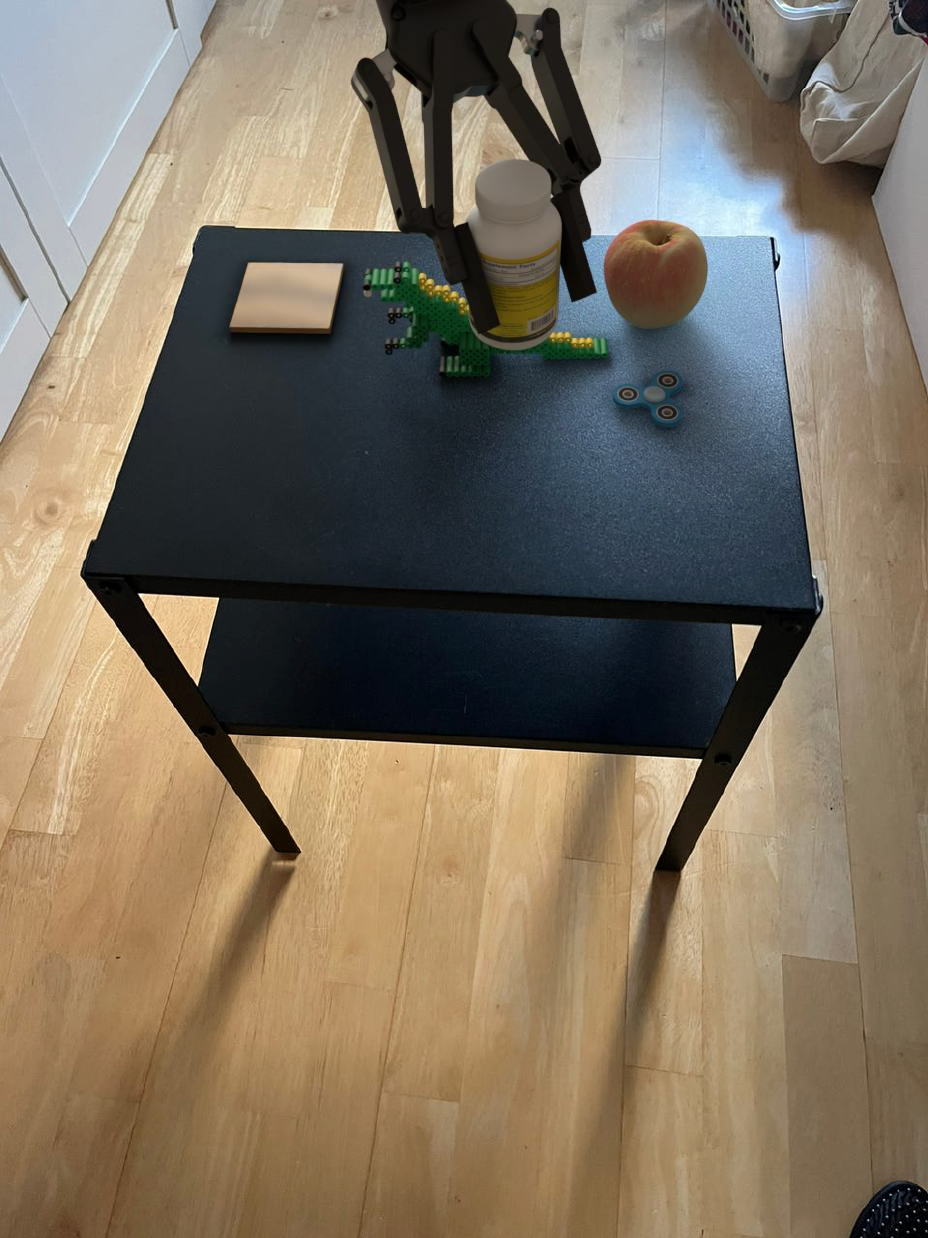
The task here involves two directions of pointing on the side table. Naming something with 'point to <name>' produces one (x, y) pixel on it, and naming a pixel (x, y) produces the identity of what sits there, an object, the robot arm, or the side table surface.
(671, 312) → the apple
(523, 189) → the pill bottle
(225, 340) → the side table surface
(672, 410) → the toy
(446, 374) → the green brick dinosaur
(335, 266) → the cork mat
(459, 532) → the side table surface
